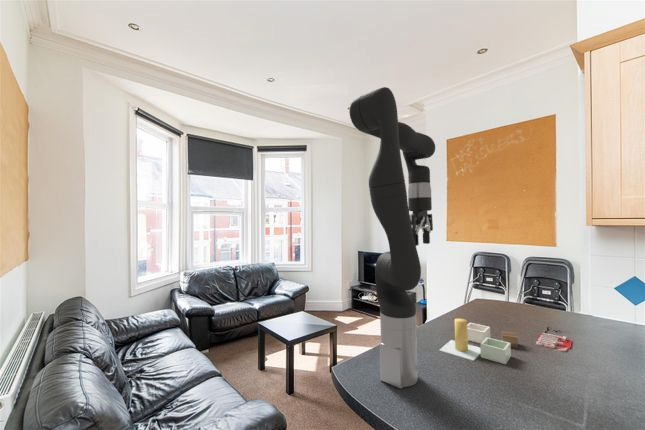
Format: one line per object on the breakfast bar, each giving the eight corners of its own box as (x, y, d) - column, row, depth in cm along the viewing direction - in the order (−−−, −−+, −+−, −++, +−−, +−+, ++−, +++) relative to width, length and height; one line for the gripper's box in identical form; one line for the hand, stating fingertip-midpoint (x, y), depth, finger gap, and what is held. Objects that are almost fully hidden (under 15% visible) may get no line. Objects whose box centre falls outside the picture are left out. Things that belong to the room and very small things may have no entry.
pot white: (484, 346, 95) (484, 332, 95) (464, 340, 99) (463, 327, 99) (490, 340, 99) (490, 326, 99) (470, 335, 104) (469, 322, 104)
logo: (542, 321, 112) (576, 328, 104) (542, 326, 112) (577, 333, 104) (527, 342, 94) (567, 351, 87) (527, 347, 94) (567, 357, 87)
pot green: (505, 366, 82) (505, 350, 82) (480, 359, 86) (480, 343, 86) (511, 358, 86) (510, 342, 86) (487, 351, 91) (486, 337, 91)
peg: (465, 353, 89) (464, 323, 89) (453, 349, 91) (452, 320, 91) (469, 349, 91) (468, 320, 91) (457, 345, 94) (456, 317, 94)
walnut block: (517, 350, 92) (517, 337, 92) (503, 348, 93) (502, 335, 93) (515, 345, 95) (515, 332, 95) (501, 343, 97) (500, 331, 97)
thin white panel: (473, 363, 84) (473, 360, 84) (439, 352, 91) (439, 349, 91) (484, 351, 91) (483, 348, 91) (451, 342, 98) (451, 339, 98)
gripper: (420, 195, 92) (422, 247, 91) (439, 197, 102) (440, 243, 102) (399, 197, 97) (400, 245, 97) (418, 198, 107) (420, 242, 107)
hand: (420, 244), depth 99 cm, fingers open, 8 cm apart
